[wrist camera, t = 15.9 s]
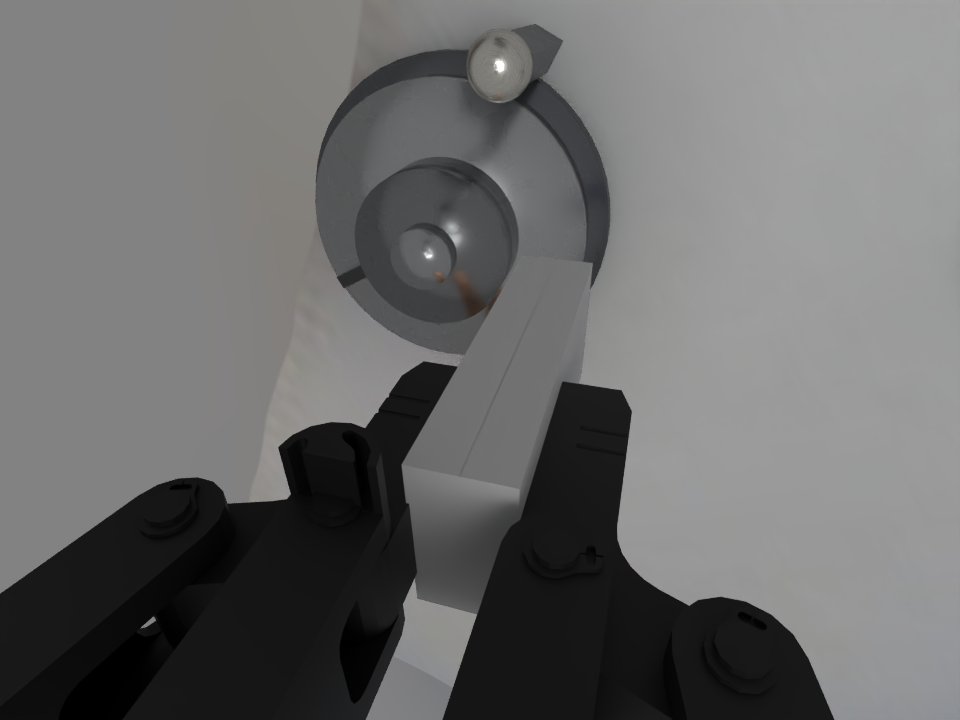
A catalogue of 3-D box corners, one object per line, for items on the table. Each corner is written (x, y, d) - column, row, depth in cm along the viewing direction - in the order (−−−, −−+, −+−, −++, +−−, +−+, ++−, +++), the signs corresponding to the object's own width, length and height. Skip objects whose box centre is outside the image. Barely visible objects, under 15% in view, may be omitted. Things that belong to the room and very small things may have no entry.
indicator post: (507, 60, 31) (446, 86, 23) (531, 8, 29) (475, 16, 21) (550, 86, 31) (504, 121, 23) (576, 35, 29) (537, 54, 21)
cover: (425, 318, 37) (399, 352, 33) (351, 196, 34) (314, 220, 30) (544, 270, 33) (528, 303, 29) (472, 127, 30) (445, 146, 26)
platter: (419, 378, 41) (366, 456, 34) (279, 158, 36) (181, 200, 29) (638, 302, 34) (626, 383, 27) (505, 8, 28) (447, 15, 21)
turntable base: (295, 257, 41) (286, 263, 40) (380, -20, 30) (370, -20, 29) (518, 388, 41) (514, 398, 40) (677, 161, 31) (677, 167, 30)
